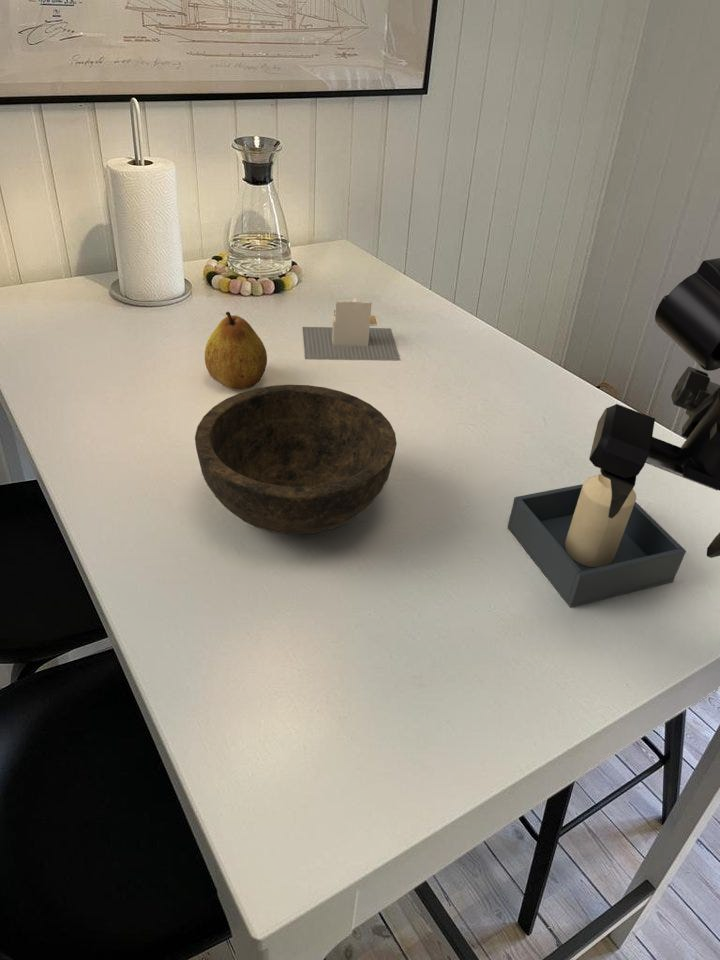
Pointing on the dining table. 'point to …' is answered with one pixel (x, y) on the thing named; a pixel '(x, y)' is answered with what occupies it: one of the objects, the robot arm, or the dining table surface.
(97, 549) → the dining table surface
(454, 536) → the dining table surface
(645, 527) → the dark gray square tray
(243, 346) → the fruit
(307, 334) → the architectural model
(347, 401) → the bowl
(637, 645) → the dining table surface
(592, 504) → the candle
